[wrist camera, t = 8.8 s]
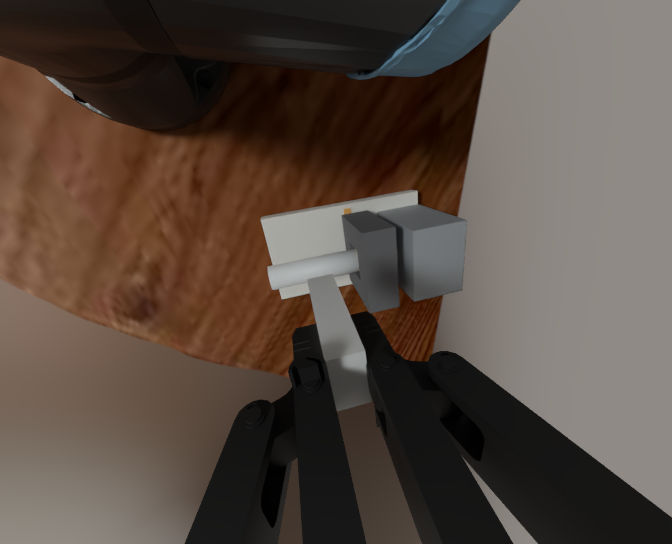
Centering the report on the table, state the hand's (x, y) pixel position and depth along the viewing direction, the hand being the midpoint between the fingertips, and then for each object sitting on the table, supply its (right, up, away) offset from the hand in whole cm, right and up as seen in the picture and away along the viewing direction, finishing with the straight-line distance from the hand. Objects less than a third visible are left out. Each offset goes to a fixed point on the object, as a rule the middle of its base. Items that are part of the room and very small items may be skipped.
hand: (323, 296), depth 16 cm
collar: (+3, +4, +15) cm, 16 cm away
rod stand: (+2, +5, +17) cm, 18 cm away
